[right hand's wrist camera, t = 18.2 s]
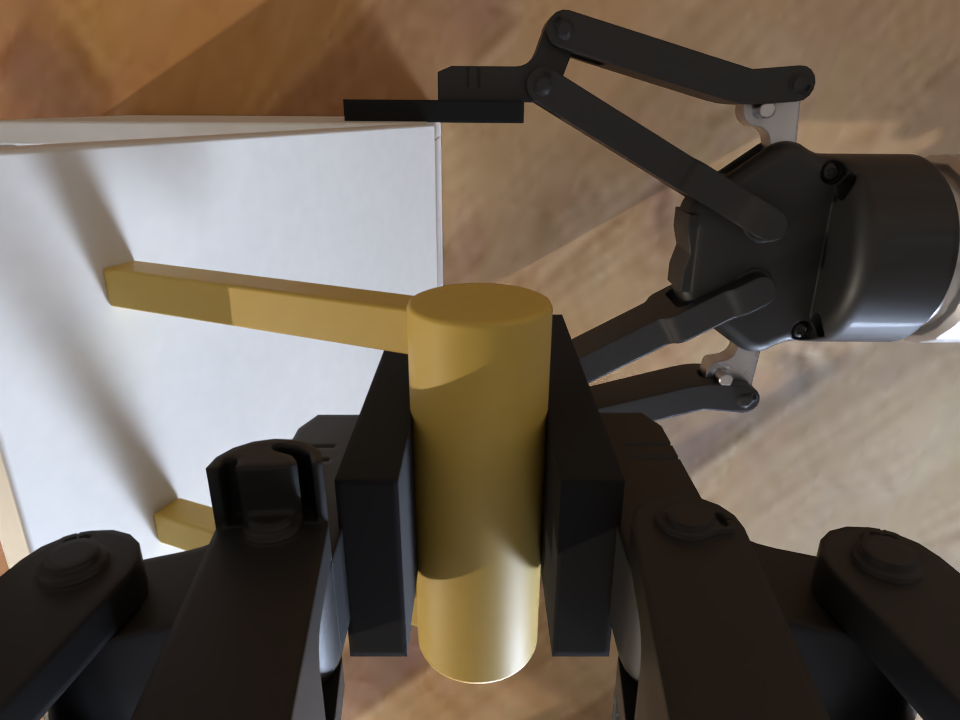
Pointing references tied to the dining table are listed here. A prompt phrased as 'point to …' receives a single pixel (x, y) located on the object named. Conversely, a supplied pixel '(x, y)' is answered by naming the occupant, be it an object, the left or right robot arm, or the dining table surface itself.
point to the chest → (192, 125)
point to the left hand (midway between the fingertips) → (358, 246)
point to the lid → (266, 353)
